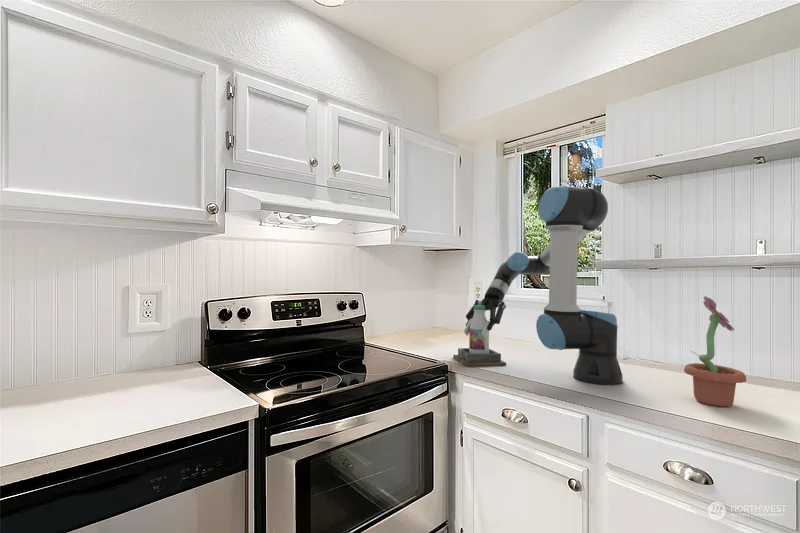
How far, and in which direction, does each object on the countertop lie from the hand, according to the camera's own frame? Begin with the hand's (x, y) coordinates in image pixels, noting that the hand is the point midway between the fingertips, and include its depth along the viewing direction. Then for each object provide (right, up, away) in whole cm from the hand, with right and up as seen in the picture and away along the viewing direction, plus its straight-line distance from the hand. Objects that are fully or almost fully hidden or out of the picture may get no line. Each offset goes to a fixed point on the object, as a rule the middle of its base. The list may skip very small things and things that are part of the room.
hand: (474, 334), depth 159 cm
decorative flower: (+59, -12, -46) cm, 76 cm away
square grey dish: (+2, -11, +2) cm, 12 cm away
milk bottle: (+2, -9, +2) cm, 10 cm away
